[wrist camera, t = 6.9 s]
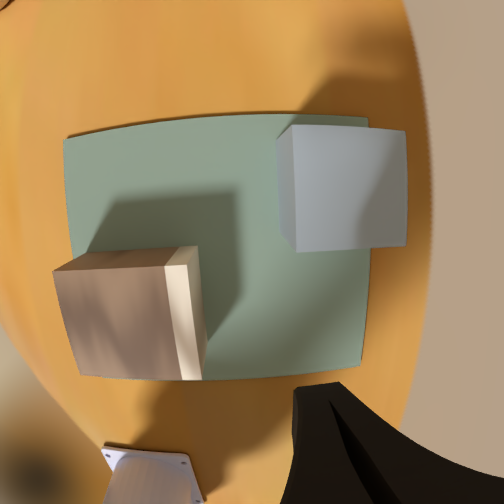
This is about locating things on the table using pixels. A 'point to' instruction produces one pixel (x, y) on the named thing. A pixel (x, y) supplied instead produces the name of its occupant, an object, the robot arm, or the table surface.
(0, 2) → the plastic bottle
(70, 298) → the walnut block
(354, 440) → the robot arm
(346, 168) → the gray block
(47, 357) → the table surface
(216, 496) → the table surface
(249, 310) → the felt mat
